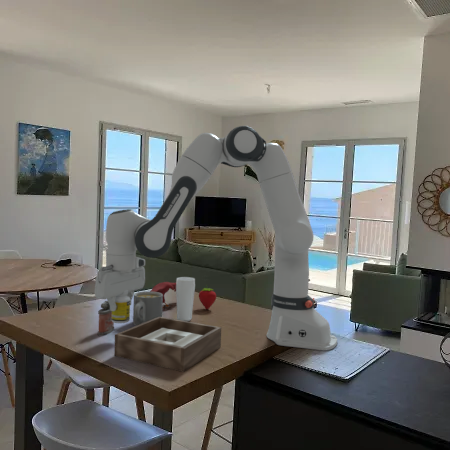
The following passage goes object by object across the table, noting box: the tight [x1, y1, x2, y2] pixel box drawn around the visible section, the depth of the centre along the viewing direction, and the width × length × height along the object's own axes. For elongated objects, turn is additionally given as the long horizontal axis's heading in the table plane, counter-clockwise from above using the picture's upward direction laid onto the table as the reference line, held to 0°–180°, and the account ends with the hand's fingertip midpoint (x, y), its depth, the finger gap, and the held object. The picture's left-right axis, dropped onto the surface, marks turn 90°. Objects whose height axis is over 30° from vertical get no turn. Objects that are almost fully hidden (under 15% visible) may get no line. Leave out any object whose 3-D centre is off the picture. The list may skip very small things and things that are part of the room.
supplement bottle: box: [112, 290, 131, 324], centre depth 138 cm, size 5×5×10 cm
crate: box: [113, 316, 222, 372], centre depth 130 cm, size 22×22×6 cm
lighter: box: [97, 300, 115, 337], centre depth 146 cm, size 8×3×10 cm, turn 168°
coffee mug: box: [132, 291, 164, 326], centre depth 156 cm, size 13×10×10 cm
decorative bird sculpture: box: [149, 281, 176, 310], centre depth 179 cm, size 28×9×15 cm
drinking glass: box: [175, 276, 196, 322], centre depth 163 cm, size 7×7×15 cm
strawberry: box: [198, 284, 217, 310], centre depth 180 cm, size 6×8×10 cm
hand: (120, 307), depth 138 cm, fingers closed on supplement bottle, 5 cm apart
